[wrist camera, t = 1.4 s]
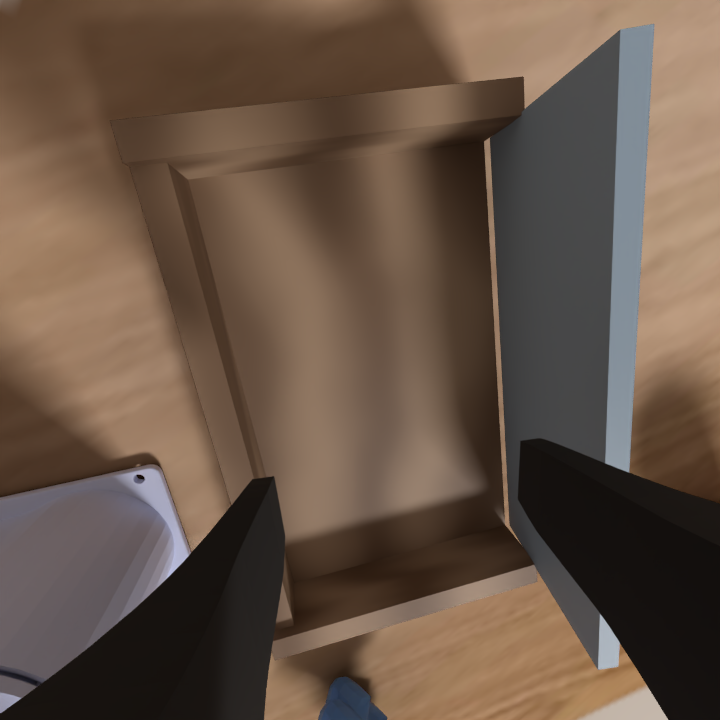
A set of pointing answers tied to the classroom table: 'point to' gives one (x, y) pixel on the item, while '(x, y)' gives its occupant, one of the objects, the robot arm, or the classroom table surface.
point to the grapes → (349, 703)
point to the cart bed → (345, 337)
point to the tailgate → (573, 281)
